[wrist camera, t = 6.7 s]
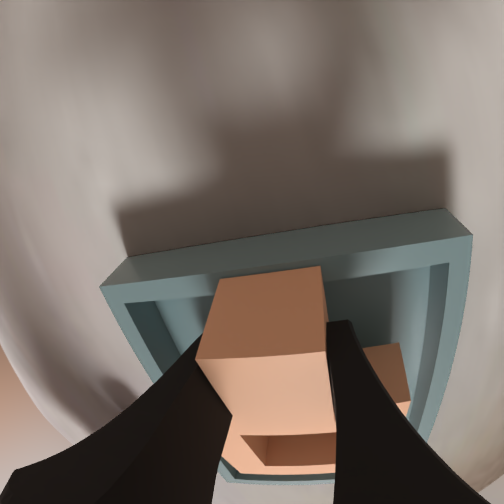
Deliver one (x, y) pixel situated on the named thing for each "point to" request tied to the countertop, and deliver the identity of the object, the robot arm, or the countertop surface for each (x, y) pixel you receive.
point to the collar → (281, 371)
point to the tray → (336, 293)
